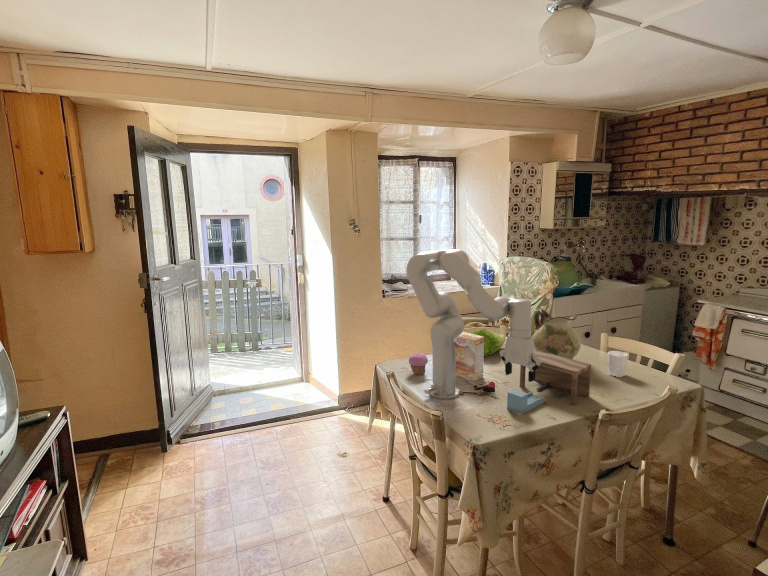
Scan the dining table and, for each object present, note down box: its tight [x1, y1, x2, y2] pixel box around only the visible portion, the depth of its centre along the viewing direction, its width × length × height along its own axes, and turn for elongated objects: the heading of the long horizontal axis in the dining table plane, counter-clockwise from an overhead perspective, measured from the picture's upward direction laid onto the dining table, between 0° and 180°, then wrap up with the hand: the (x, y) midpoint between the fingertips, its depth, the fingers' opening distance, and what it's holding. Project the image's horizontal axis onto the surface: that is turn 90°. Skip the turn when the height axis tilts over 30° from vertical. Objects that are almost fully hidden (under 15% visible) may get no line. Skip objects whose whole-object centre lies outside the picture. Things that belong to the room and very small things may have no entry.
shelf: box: [519, 350, 592, 406], centre depth 172 cm, size 12×24×14 cm, turn 39°
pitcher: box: [532, 308, 582, 360], centre depth 207 cm, size 22×24×25 cm
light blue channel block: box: [506, 389, 546, 416], centre depth 160 cm, size 16×6×7 cm, turn 129°
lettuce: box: [471, 328, 506, 357], centre depth 224 cm, size 14×24×15 cm
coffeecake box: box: [454, 331, 485, 382], centre depth 191 cm, size 15×7×20 cm, turn 42°
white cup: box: [607, 350, 629, 378], centre depth 189 cm, size 8×8×10 cm
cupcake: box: [408, 352, 429, 376], centre depth 195 cm, size 9×9×10 cm
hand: (519, 377), depth 155 cm, fingers open, 9 cm apart
